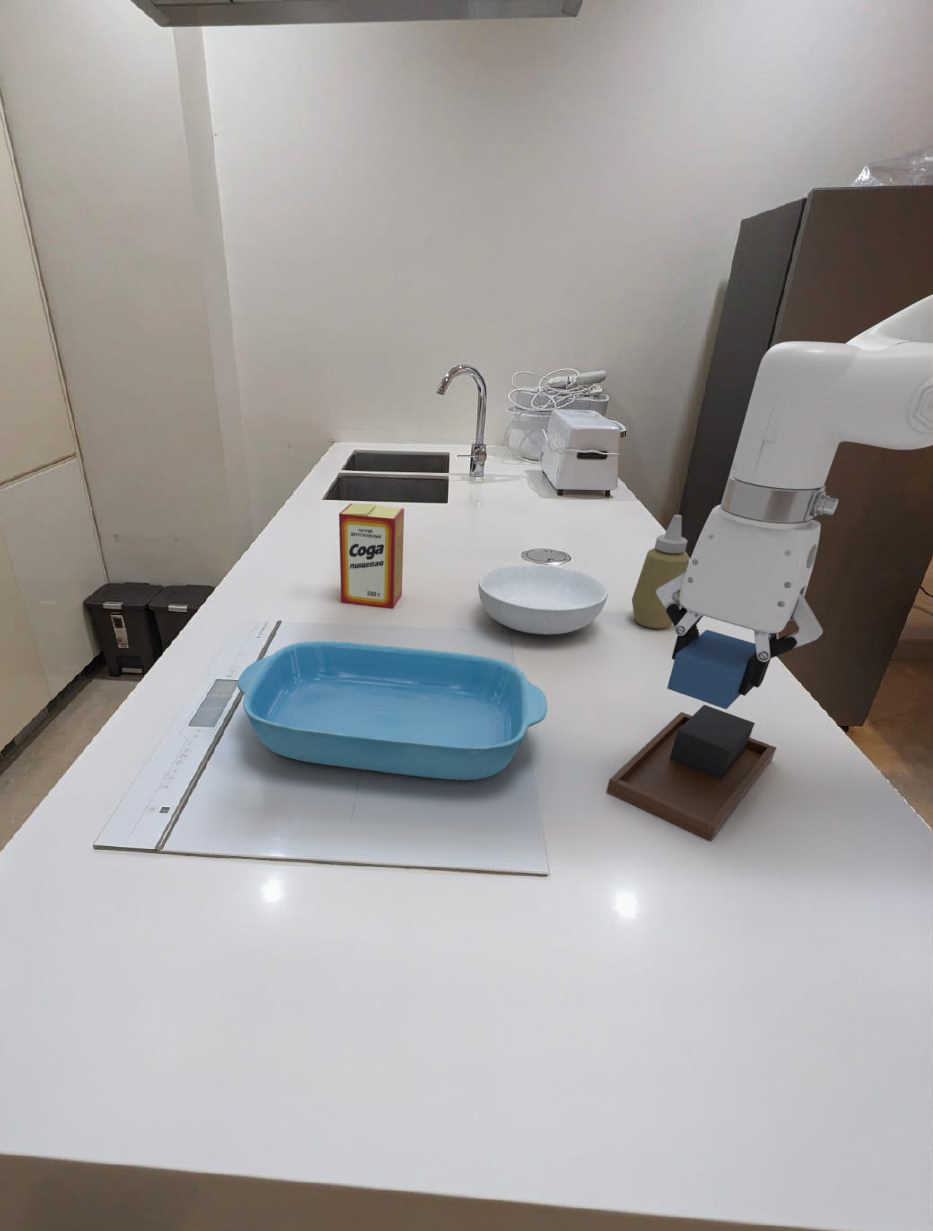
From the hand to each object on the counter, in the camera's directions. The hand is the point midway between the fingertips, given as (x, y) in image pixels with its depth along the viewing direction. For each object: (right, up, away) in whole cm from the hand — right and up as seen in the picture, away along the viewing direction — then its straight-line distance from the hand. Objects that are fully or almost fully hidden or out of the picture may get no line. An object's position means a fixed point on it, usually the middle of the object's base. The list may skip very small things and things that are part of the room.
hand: (713, 677), depth 69 cm
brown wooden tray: (+2, -11, +8) cm, 14 cm away
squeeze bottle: (+11, +12, +45) cm, 48 cm away
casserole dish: (-33, -6, +15) cm, 37 cm away
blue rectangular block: (0, -1, 0) cm, 1 cm away
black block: (+5, -9, +11) cm, 15 cm away
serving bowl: (-9, +12, +44) cm, 46 cm away
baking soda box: (-37, +17, +51) cm, 66 cm away
